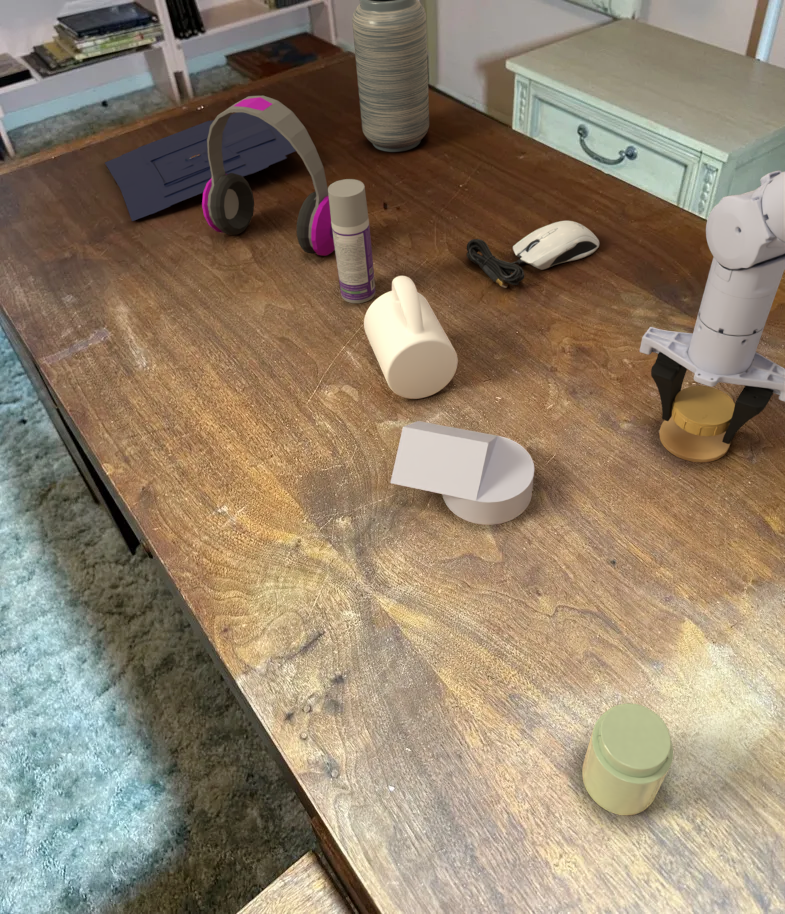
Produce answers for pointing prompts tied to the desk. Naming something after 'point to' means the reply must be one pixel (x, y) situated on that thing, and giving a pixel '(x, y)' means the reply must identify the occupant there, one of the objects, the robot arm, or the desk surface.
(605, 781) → the jar
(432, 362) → the mug
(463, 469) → the wedge on round base
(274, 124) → the headphones
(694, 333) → the robot arm
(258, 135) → the dark blue flat panel
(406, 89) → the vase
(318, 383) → the desk surface
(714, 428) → the lid
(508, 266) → the computer mouse
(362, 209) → the container
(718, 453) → the tan round disc
